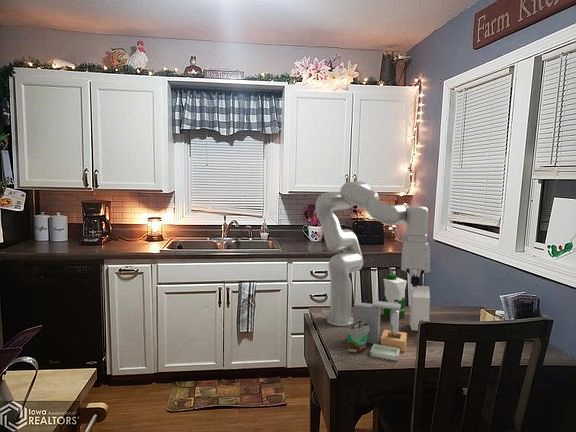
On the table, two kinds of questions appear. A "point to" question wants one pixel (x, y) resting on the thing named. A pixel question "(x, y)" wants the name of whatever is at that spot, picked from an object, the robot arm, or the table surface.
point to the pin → (394, 324)
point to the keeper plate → (387, 305)
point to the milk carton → (419, 306)
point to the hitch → (377, 326)
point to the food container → (358, 337)
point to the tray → (385, 352)
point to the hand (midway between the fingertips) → (414, 286)
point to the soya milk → (394, 294)
